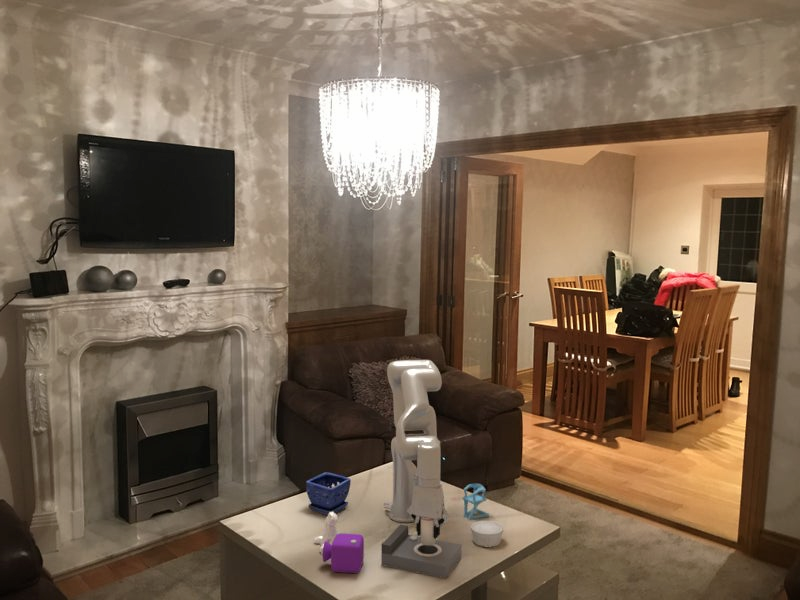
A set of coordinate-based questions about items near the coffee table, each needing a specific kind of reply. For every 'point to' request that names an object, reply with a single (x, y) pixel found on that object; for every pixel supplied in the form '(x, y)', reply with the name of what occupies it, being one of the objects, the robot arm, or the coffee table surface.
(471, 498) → the chair
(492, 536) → the ramekin
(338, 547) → the toy camera
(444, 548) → the camera body
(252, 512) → the coffee table surface
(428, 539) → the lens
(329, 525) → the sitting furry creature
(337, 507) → the flower pot
